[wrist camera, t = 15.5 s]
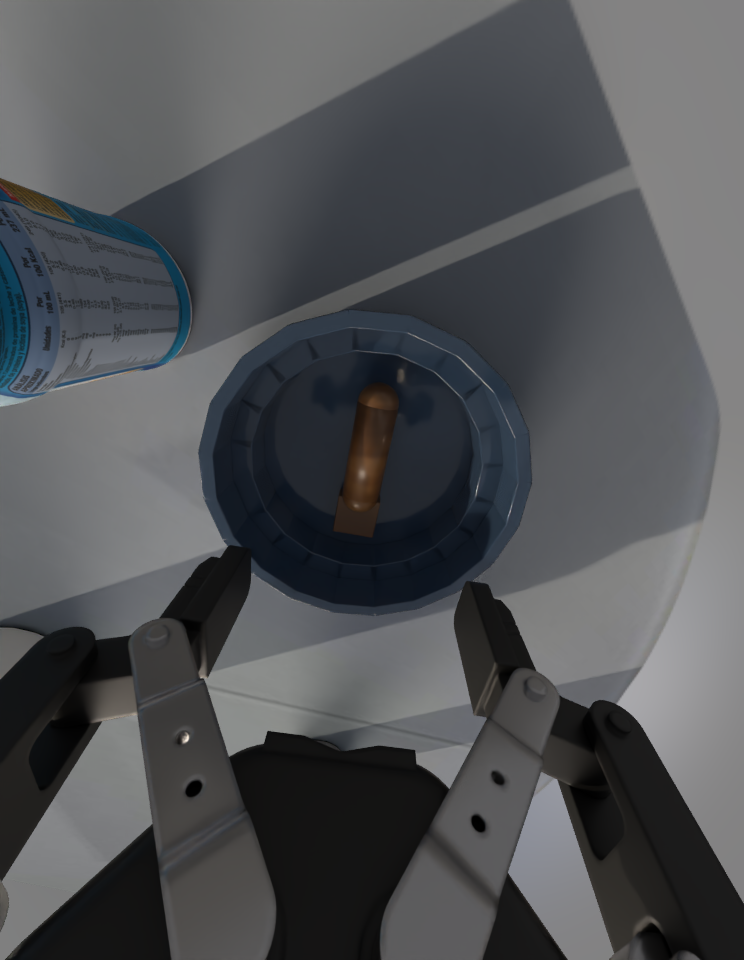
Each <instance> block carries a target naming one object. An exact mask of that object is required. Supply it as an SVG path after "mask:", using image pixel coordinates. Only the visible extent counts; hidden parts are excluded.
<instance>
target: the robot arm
mask: <svg viewBox="0 0 744 960" xmlns="http://www.w3.org/2000/svg"><path fill="white" fill-rule="evenodd" d="M250 583H251V548H247V547H240V546H234V545H229V546H228V547H227V549H226V550H225V552H224V553H223V554H222V556H221V557H220V558H217V557H210V558H209V559H207V560H206V561H204V562H203V563H201V564H200V565H198V567H197V568H196V569H195V571H194V572H193V574H192V575H191V577H190V578H189V579H188V580H187V582H186V583H185V586H183V587H182V588H181V590H180V591H179V592H178V594H177V595H176V596H175V598H174V599H173V600H172V602H171V603H170V604H169V606H168V607H167V608H166V610H165V611H164V613H163V614H162V615H161V617H160V618H159V619H155V620H152V621H149V622H147V623H145V624H143V625H142V626H140V627H139V628H138V629H136V630H135V631H134V632H133V634H132V635H129V636H124V637H117V638H109V639H100V640H96V639H95V635H94V633H93V632H92V631H91V630H90V629H87V628H84V627H69V628H64V629H61V630H58V631H55V632H53V633H51V634H49V635H47V636H45V637H43V638H42V639H41V640H39V641H38V642H37V643H36V644H34V645H33V646H32V647H31V648H30V649H29V650H28V651H27V653H26V654H25V655H24V656H23V657H22V658H21V659H20V660H19V661H18V662H17V663H16V664H15V665H14V666H13V667H12V668H11V669H10V670H9V671H8V672H7V673H6V674H5V675H4V676H3V677H2V678H1V679H0V931H1V929H2V927H3V925H4V922H5V919H6V917H7V913H8V908H9V897H8V893H7V891H6V889H5V887H4V885H3V883H2V880H3V878H4V877H5V875H6V874H7V872H8V871H9V869H10V867H11V866H12V864H13V863H14V861H15V859H16V858H17V856H18V855H19V853H20V851H21V850H22V848H23V847H24V845H25V843H26V842H27V840H28V839H29V837H30V836H31V834H32V832H33V831H34V829H35V828H36V826H37V824H38V823H39V821H40V820H41V818H42V816H43V815H44V813H45V812H46V810H47V809H48V807H49V805H50V804H51V802H52V801H53V799H54V797H55V796H56V794H57V793H58V791H59V789H60V788H61V786H62V785H63V783H64V781H65V780H66V778H67V777H68V775H69V774H70V772H71V770H72V769H73V767H74V766H75V764H76V762H77V761H78V759H79V758H80V756H81V754H82V753H83V751H84V750H85V748H86V746H87V745H88V743H89V742H90V740H91V739H92V737H93V735H94V734H95V732H96V731H97V729H98V727H99V726H100V724H101V723H102V721H105V720H110V719H115V718H121V717H126V716H132V715H138V722H139V729H140V736H141V744H142V751H143V758H144V765H145V772H146V779H147V786H148V794H149V801H150V808H151V815H152V822H153V824H152V825H151V826H150V827H148V828H147V829H146V830H145V831H144V832H143V833H142V834H141V835H140V836H138V837H137V838H136V839H135V840H134V841H133V842H132V843H131V844H130V845H128V846H127V847H126V848H125V849H124V850H123V851H122V852H121V853H120V854H119V855H117V856H116V857H115V858H114V859H113V860H112V861H111V862H110V863H109V864H107V865H106V866H105V867H104V868H103V869H102V870H101V871H100V872H99V873H97V874H96V875H95V876H94V877H93V878H92V879H91V880H90V881H89V882H88V883H86V884H85V885H84V886H83V887H82V888H81V889H80V890H79V891H78V892H76V893H75V894H74V895H73V896H72V897H71V898H70V899H69V900H68V901H66V902H65V903H64V904H63V905H62V906H61V907H60V908H59V909H58V910H57V911H55V912H54V913H53V914H52V915H51V916H50V917H49V918H48V919H47V920H45V921H44V922H43V923H42V924H41V925H40V926H39V927H38V928H37V929H36V930H34V931H33V932H32V933H31V934H30V935H29V936H28V937H27V938H26V939H24V940H23V941H22V942H21V943H20V944H19V945H18V946H17V947H16V948H15V950H14V951H12V953H11V954H10V955H9V956H8V957H7V958H6V959H5V960H568V959H567V958H566V957H565V955H564V954H563V952H562V951H561V949H560V948H559V946H558V945H557V944H556V942H555V941H554V939H553V938H552V936H551V935H550V933H549V932H548V930H547V929H546V928H545V926H544V925H543V923H542V922H541V920H540V919H539V917H538V916H537V914H536V913H535V912H534V910H533V909H532V907H531V906H530V904H529V903H528V901H527V900H526V899H525V897H524V896H523V894H522V893H521V891H520V890H519V888H518V887H517V885H516V884H515V883H514V881H513V880H512V878H511V877H510V875H509V874H508V870H509V867H510V864H511V861H512V858H513V855H514V852H515V849H516V846H517V843H518V840H519V837H520V834H521V831H522V828H523V825H524V822H525V819H526V816H527V813H528V810H529V807H530V804H531V801H532V798H533V795H534V791H535V788H536V785H537V782H538V779H539V776H540V773H541V772H543V773H545V774H547V775H549V776H551V777H553V778H555V779H557V780H558V783H559V786H560V789H561V792H562V795H563V798H564V801H565V804H566V807H567V810H568V813H569V816H570V819H571V823H572V825H573V829H574V831H575V835H576V838H577V841H578V844H579V847H580V850H581V853H582V856H583V859H584V862H585V865H586V868H587V872H588V875H589V878H590V881H591V884H592V887H593V890H594V893H595V896H596V899H597V902H598V905H599V908H600V911H601V914H602V917H603V920H604V924H605V927H606V930H607V933H608V936H609V939H610V942H611V945H612V948H613V951H614V955H612V957H611V958H610V959H609V960H744V903H743V902H742V900H741V898H740V897H739V895H738V893H737V892H736V890H735V888H734V886H733V884H732V883H731V881H730V879H729V878H728V876H727V874H726V872H725V870H724V869H723V867H722V865H721V863H720V862H719V860H718V858H717V857H716V855H715V854H714V851H713V850H712V848H711V846H710V845H709V843H708V841H707V839H706V838H705V836H704V834H703V832H702V831H701V829H700V827H699V825H698V824H697V822H696V820H695V818H694V817H693V815H692V813H691V811H690V810H689V808H688V806H687V805H686V803H685V801H684V799H683V798H682V796H681V794H680V792H679V791H678V789H677V787H676V785H675V784H674V782H673V780H672V779H671V777H670V775H669V773H668V772H667V770H666V768H665V766H664V765H663V763H662V761H661V759H660V758H659V756H658V754H657V752H656V751H655V749H654V747H653V745H652V744H651V742H650V740H649V739H648V737H647V735H646V733H645V732H644V730H643V728H642V727H641V725H640V724H639V723H638V722H637V720H636V719H635V718H634V717H633V716H632V715H631V714H630V713H629V712H627V711H626V710H625V709H623V708H622V707H620V706H618V705H616V704H614V703H612V702H609V701H605V700H598V701H595V702H594V703H593V704H592V705H591V707H590V709H588V708H586V707H584V706H581V705H579V704H577V703H574V702H572V701H569V700H567V699H565V698H563V697H561V696H559V694H558V691H557V690H556V688H555V686H554V685H553V684H552V683H551V682H550V681H549V680H548V679H547V678H546V677H545V676H543V675H542V674H540V673H539V672H537V671H536V669H535V667H534V665H533V662H532V660H531V658H530V655H529V653H528V651H527V648H526V646H525V644H524V641H523V639H522V637H521V635H520V632H519V630H518V627H517V625H516V623H515V620H514V618H513V616H512V613H511V611H510V610H509V609H508V608H507V607H506V606H505V604H504V603H503V602H502V601H501V600H497V599H494V598H493V595H492V593H491V590H490V588H489V586H488V584H485V583H478V582H471V581H466V583H465V584H464V587H463V590H462V593H461V596H460V599H459V602H458V605H457V608H456V611H455V616H454V629H455V634H456V638H457V643H458V647H459V651H460V656H461V660H462V665H463V669H464V673H465V678H466V682H467V687H468V691H469V696H470V700H471V704H472V709H473V713H474V715H476V716H483V717H486V718H487V720H486V722H485V724H484V725H483V727H482V729H481V731H480V733H479V735H478V737H477V739H476V740H475V742H474V744H473V746H472V748H471V750H470V752H469V754H468V755H467V757H466V759H465V761H464V763H463V765H462V767H461V769H460V771H459V772H458V774H457V776H456V778H455V780H454V782H453V784H452V786H451V787H450V789H449V788H448V787H447V786H446V785H445V784H444V783H443V782H442V781H441V780H440V779H439V778H438V777H436V776H435V775H434V774H433V773H431V772H430V771H428V770H427V769H425V768H423V767H422V766H420V765H417V764H416V754H415V750H410V749H402V748H394V747H387V746H374V747H367V748H361V749H355V750H349V751H338V750H336V749H333V748H331V747H329V746H327V745H324V744H322V743H320V742H317V741H315V740H313V739H311V738H308V737H306V736H302V735H294V734H287V733H279V732H271V731H267V735H266V739H265V742H264V744H261V745H256V746H252V747H249V748H246V749H244V750H242V751H239V752H237V753H235V754H234V755H232V756H230V757H229V756H228V753H227V750H226V746H225V743H224V740H223V737H222V734H221V730H220V727H219V724H218V721H217V718H216V714H215V711H214V708H213V705H212V702H211V698H210V695H209V692H208V689H207V686H206V683H205V681H204V679H203V678H208V676H209V674H210V672H211V670H212V668H213V666H214V664H215V662H216V660H217V658H218V656H219V654H220V652H221V650H222V648H223V646H224V644H225V642H226V639H227V637H228V635H229V633H230V631H231V629H232V627H233V625H234V623H235V621H236V619H237V617H238V615H239V613H240V611H241V609H242V607H243V605H244V602H245V600H246V598H247V596H248V593H249V589H250ZM200 677H202V679H200Z"/></svg>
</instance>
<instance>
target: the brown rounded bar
mask: <svg viewBox="0 0 744 960" xmlns="http://www.w3.org/2000/svg"><path fill="white" fill-rule="evenodd" d="M398 409H399V399H398V395H397V393H396V392H395V390H394V389H393V388H392V387H391V386H389V385H387V384H385V383H381V382H376V383H372V384H369V385H368V386H366V387H365V388H364V389H363V390H362V391H361V393H360V395H359V397H358V402H357V408H356V414H355V419H354V425H353V431H352V437H351V443H350V449H349V455H348V460H347V466H346V472H345V478H344V484H343V489H340V492H339V497H338V503H337V509H336V515H335V520H334V526H333V531H336V532H341V533H347V534H353V535H359V536H365V537H371V538H372V537H373V534H374V530H375V525H376V521H377V516H378V512H379V507H380V496H379V495H380V491H381V486H382V482H383V477H384V473H385V468H386V463H387V459H388V454H389V450H390V445H391V441H392V436H393V431H394V427H395V422H396V418H397V413H398Z"/></svg>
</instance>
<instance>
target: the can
mask: <svg viewBox="0 0 744 960" xmlns="http://www.w3.org/2000/svg"><path fill="white" fill-rule="evenodd" d="M43 637H44V636H41V635H39V634H37V633H34V632H30V631H25V630H21V629H17V628H0V679H1V678H2V677H3V676H4V675H5V674H6V673H7V672H8V671H9V670H10V669H11V668H12V667H13V666H14V665H15V664H16V663H17V662H18V661H19V660H20V659H21V658H22V657H23V656H24V655H25V654H26V653H27V651H28V650H29V649H30V648H31V647H32V646H33V645H34V644H36V643H37V642H38V641H39V640H41V639H42V638H43Z"/></svg>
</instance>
